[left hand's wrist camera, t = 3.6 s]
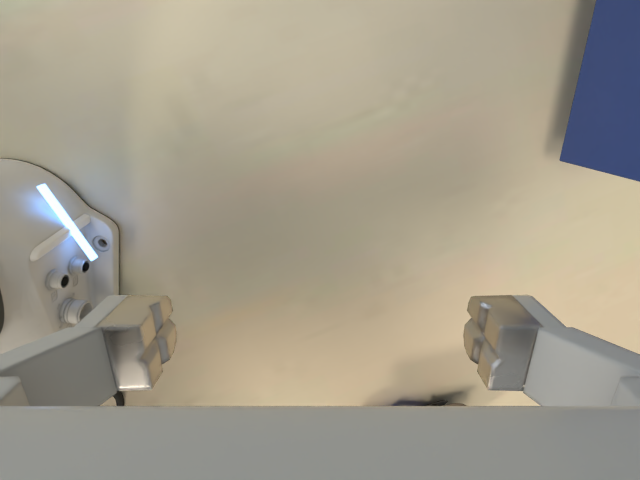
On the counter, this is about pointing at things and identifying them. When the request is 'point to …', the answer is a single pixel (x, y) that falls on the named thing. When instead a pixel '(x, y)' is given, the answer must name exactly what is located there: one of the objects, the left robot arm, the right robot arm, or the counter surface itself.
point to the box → (608, 94)
